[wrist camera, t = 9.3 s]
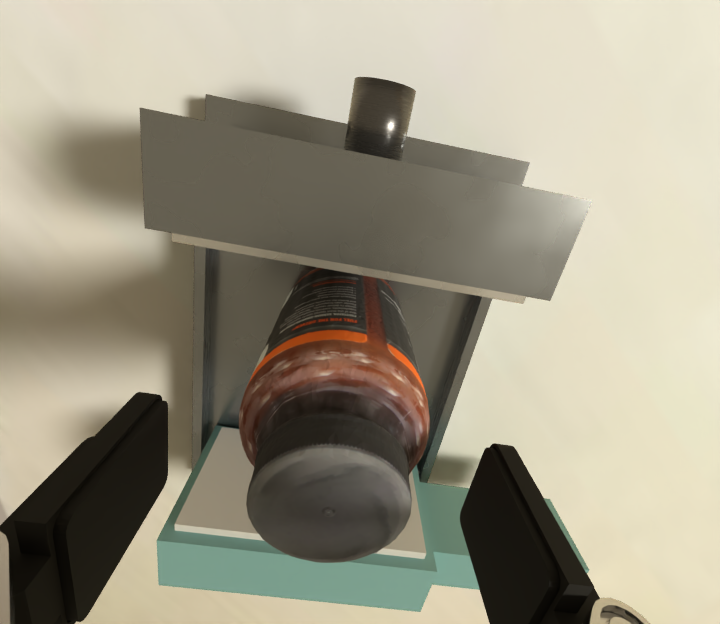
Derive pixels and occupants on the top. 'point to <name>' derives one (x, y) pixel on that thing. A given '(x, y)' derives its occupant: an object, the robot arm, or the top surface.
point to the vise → (344, 233)
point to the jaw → (302, 577)
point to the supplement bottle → (334, 421)
